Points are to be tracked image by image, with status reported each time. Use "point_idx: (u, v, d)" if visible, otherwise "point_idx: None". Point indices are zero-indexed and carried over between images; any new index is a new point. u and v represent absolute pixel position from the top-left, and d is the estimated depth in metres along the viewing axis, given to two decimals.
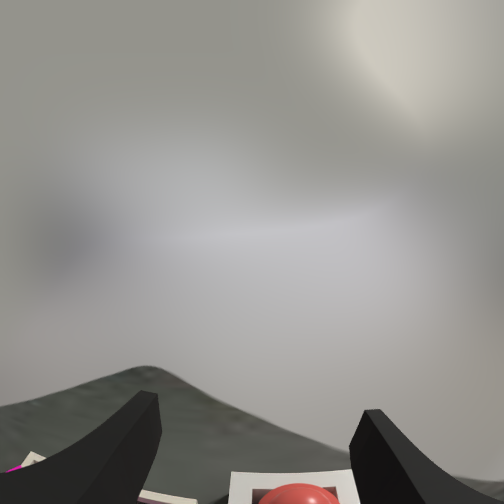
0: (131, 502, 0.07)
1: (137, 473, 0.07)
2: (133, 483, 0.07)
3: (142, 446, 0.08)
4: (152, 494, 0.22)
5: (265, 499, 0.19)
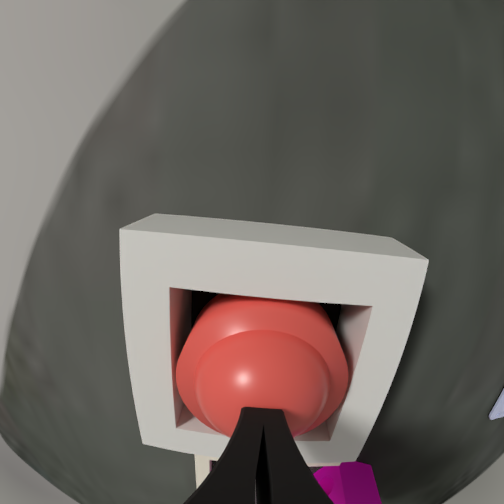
0: None
1: None
2: None
3: None
4: (200, 481, 0.18)
5: None
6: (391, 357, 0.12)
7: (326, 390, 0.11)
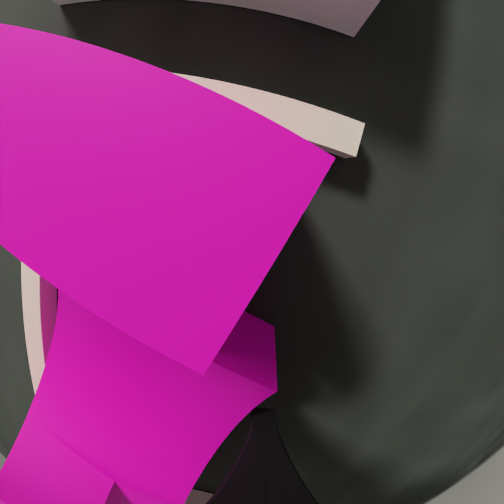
0: None
1: None
2: None
3: None
4: None
5: None
6: None
7: None
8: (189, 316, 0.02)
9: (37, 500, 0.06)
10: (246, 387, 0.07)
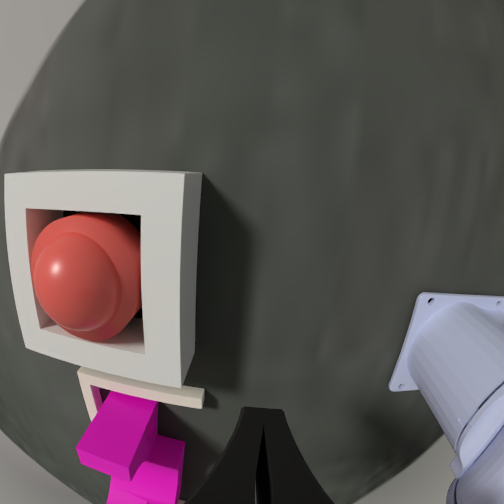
0: None
1: None
2: None
3: None
4: (91, 411, 0.21)
5: None
6: (170, 266, 0.14)
7: (106, 281, 0.14)
8: (125, 477, 0.15)
9: None
10: (169, 468, 0.20)
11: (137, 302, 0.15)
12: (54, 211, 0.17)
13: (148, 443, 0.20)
